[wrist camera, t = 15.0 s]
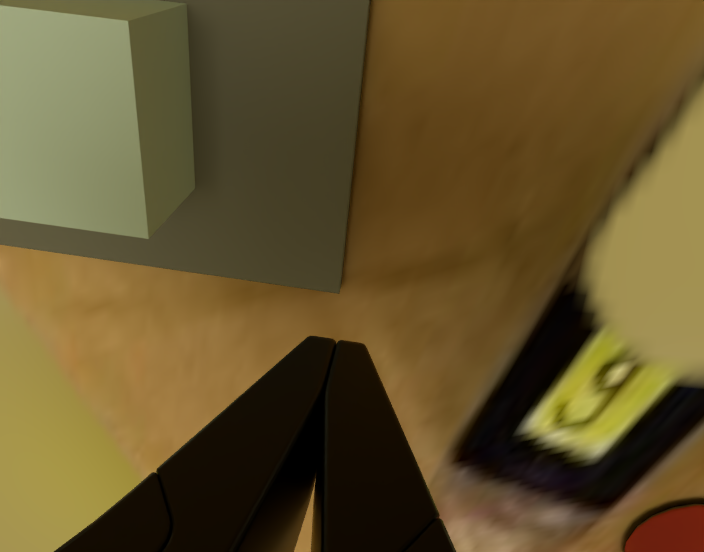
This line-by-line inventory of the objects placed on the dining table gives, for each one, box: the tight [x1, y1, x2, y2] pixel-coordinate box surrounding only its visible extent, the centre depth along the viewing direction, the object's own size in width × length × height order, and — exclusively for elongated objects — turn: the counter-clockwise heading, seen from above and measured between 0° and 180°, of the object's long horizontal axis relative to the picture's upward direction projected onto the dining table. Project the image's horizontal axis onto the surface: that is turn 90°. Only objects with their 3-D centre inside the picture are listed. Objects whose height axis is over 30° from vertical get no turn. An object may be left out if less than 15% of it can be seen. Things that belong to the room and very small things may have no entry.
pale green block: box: [0, 0, 195, 239], centre depth 18 cm, size 4×6×9 cm
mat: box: [0, 0, 371, 294], centre depth 20 cm, size 16×13×1 cm
